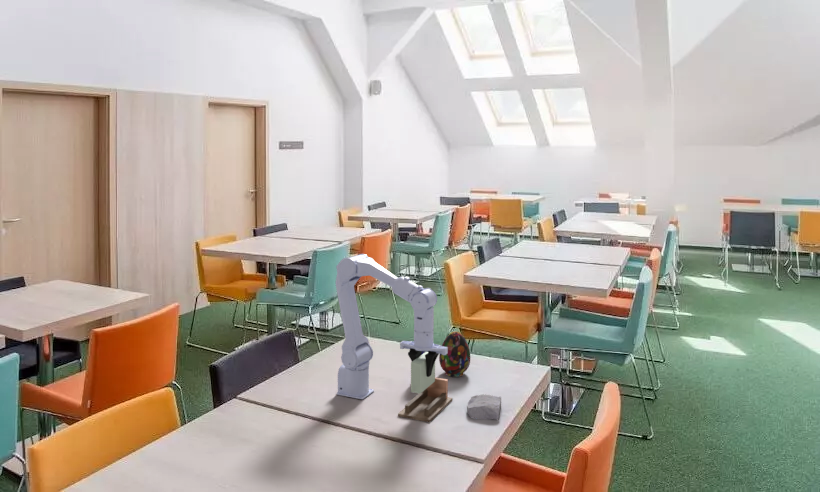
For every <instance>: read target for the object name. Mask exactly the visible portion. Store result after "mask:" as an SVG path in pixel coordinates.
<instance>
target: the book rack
mask: <svg viewBox="0 0 820 492" xmlns="http://www.w3.org/2000/svg"><path fill="white" fill-rule="evenodd" d="M448 385H449V380H448V378H447V379H446V378H442V377H441V378H440V377H436V376H435V382H434V383H432V384H431V385H430V386H429V387H428V388H426V389H425V390H424V391H423V392H422V393H421V394H419V393H417V395H415V396H414V397H413V398H412V399H410V401H408V402H407V403H406V404H405V405H404V408H402V410H401V411H399V412H398V413H397V417H400V418H406V419H410V420H413V421H415V420H416V421H420V422H421V421H422V422H426V423H431V422H432V421H434V419H435V418H436V417H437V416H438V415H439V414H440V413H441V412H442V411H443V410H444V409H445V408H446V407H447V406H448V405H449V404H450V403H452V401H453V397H450V396H448V395H449V394H448V392H449V391H448V390H449V386H448Z"/></svg>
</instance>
